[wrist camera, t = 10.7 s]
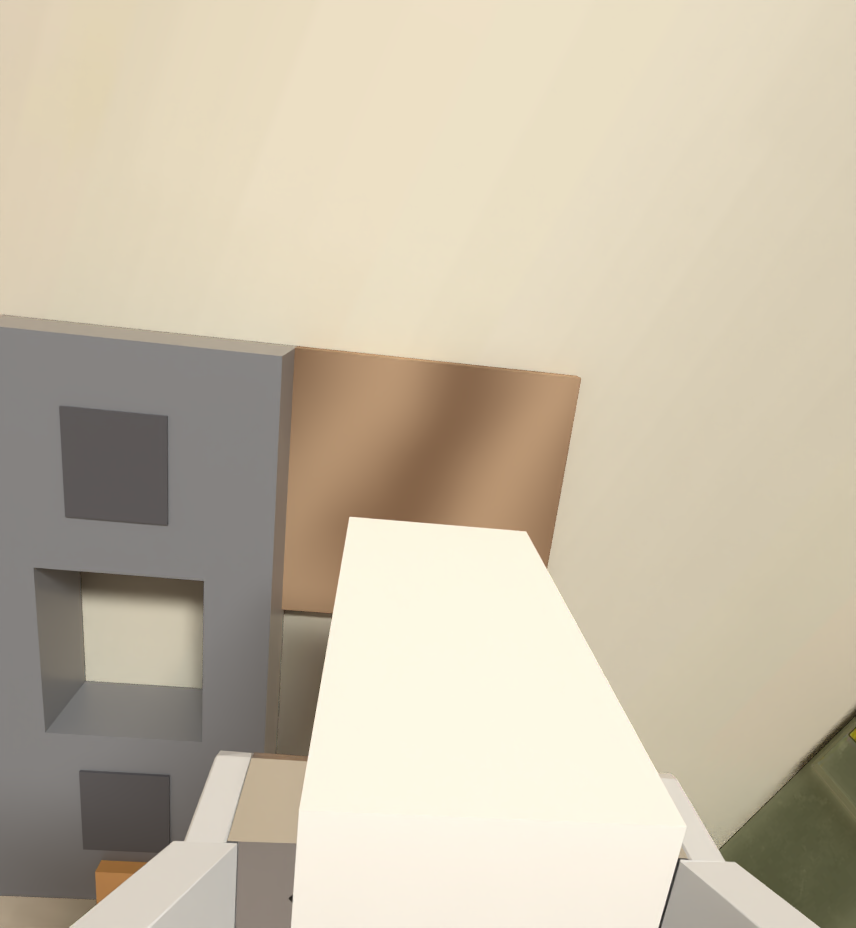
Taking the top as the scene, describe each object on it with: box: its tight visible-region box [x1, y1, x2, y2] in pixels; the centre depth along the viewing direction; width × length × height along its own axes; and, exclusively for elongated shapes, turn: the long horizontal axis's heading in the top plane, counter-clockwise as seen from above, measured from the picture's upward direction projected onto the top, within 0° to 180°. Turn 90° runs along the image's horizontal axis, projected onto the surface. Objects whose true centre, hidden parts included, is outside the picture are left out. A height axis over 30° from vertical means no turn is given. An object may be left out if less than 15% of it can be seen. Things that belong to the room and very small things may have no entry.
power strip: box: [0, 315, 297, 904], centre depth 23 cm, size 10×22×4 cm, turn 174°
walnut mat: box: [282, 346, 581, 613], centre depth 23 cm, size 10×10×1 cm
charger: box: [291, 517, 687, 928], centre depth 11 cm, size 4×5×8 cm
